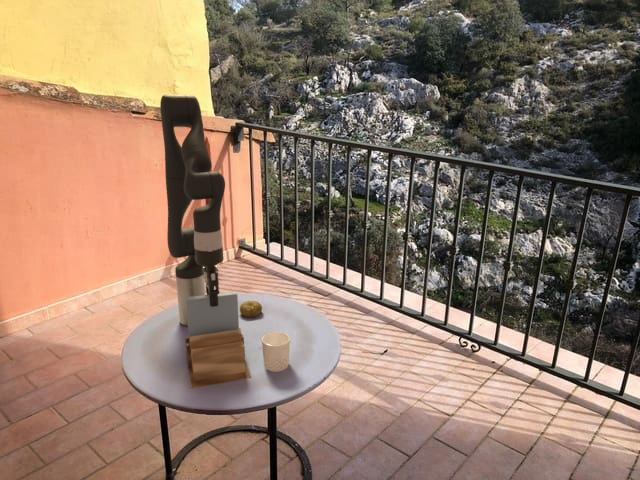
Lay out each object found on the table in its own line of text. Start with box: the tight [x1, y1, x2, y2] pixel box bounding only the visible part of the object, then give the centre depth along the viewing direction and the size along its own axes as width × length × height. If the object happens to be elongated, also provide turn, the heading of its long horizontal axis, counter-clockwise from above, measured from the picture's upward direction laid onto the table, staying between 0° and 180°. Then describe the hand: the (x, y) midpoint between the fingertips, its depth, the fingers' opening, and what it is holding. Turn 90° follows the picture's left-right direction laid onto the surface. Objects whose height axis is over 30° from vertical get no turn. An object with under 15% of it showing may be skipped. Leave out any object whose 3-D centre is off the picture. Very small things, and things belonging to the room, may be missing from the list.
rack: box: [184, 327, 252, 389], centre depth 135 cm, size 16×16×8 cm
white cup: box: [261, 331, 291, 373], centre depth 136 cm, size 8×8×10 cm
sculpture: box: [239, 300, 263, 318], centre depth 171 cm, size 8×4×8 cm
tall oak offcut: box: [190, 328, 243, 370], centre depth 135 cm, size 3×14×10 cm, turn 109°
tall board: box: [186, 290, 240, 342], centre depth 137 cm, size 2×14×20 cm, turn 109°
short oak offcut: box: [191, 341, 246, 381], centre depth 132 cm, size 3×14×8 cm, turn 109°
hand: (212, 299), depth 135 cm, fingers open, 8 cm apart
